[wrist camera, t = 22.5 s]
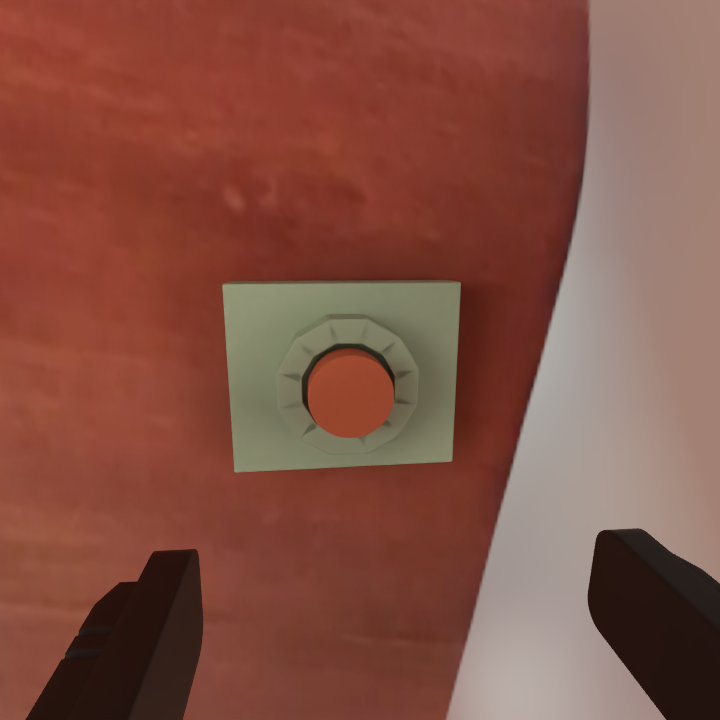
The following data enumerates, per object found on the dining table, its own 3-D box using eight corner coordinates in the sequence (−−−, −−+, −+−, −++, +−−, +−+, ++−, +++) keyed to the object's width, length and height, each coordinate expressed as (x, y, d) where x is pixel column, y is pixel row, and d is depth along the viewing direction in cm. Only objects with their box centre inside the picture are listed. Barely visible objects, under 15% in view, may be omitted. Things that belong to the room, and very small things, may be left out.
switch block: (448, 279, 26) (473, 284, 22) (441, 446, 29) (463, 476, 25) (228, 280, 25) (215, 286, 21) (239, 455, 27) (229, 489, 23)
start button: (388, 346, 23) (395, 354, 21) (387, 423, 24) (393, 436, 22) (306, 348, 23) (306, 356, 21) (308, 426, 24) (308, 440, 22)
